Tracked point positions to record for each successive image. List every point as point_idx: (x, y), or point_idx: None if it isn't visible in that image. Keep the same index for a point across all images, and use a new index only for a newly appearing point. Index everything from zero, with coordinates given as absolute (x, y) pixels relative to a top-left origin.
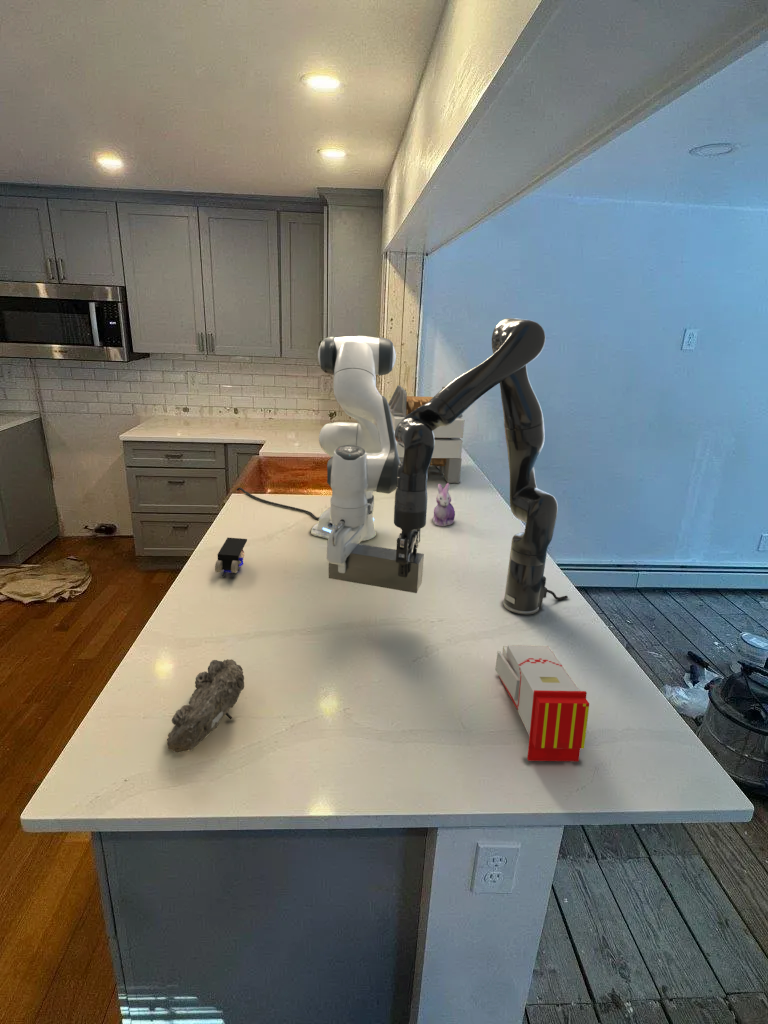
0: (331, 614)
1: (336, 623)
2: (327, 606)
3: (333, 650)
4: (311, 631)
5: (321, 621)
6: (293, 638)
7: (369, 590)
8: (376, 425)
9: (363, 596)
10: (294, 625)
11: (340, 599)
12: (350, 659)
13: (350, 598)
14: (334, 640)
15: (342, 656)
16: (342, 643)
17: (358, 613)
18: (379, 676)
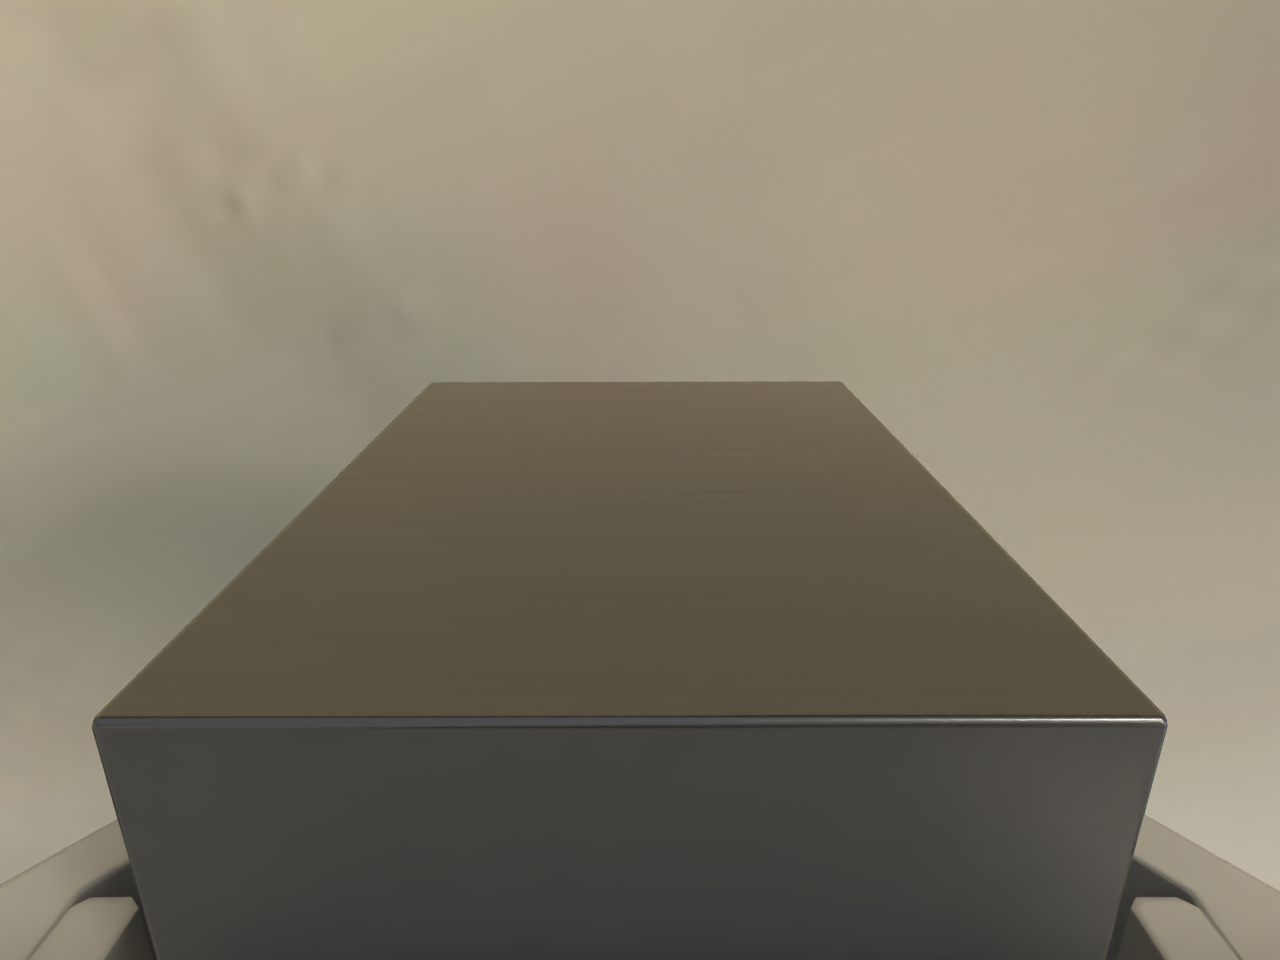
0: (595, 291)
1: None
2: (727, 195)
3: (91, 507)
4: (243, 228)
5: (441, 249)
6: (53, 112)
7: (1139, 472)
8: None
9: (1009, 456)
10: (255, 13)
11: (900, 270)
12: (62, 649)
13: (944, 356)
14: (219, 466)
15: (61, 590)
16: (213, 536)
17: None
18: (6, 847)
